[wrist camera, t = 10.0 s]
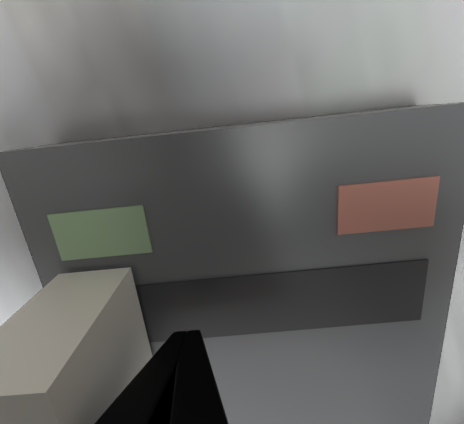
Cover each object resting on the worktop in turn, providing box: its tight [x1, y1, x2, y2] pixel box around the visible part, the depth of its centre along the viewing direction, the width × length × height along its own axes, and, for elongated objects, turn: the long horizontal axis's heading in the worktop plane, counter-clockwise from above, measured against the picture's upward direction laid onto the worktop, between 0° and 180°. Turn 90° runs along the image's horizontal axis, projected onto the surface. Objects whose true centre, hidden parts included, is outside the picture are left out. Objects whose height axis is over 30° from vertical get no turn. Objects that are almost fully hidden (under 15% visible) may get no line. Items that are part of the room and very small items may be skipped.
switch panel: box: [0, 102, 464, 424], centre depth 13 cm, size 14×24×3 cm, turn 6°
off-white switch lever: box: [0, 267, 152, 424], centre depth 8 cm, size 2×4×4 cm, turn 6°
